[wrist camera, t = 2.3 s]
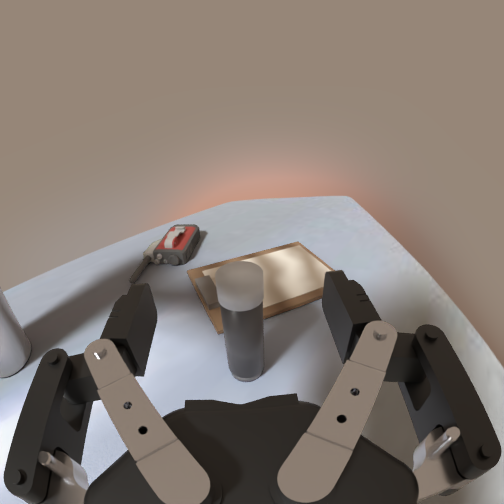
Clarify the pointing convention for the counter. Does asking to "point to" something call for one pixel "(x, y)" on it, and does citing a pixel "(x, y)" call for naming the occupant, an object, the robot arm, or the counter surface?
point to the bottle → (242, 317)
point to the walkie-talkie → (170, 248)
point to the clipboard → (269, 280)
